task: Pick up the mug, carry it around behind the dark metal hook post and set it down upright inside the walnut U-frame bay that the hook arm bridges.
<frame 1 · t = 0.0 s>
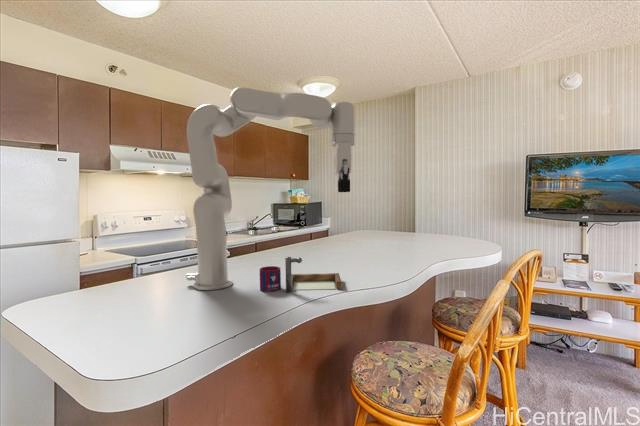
hand: (343, 192, 109), 31 cm above the worktop, fingers open, 9 cm apart
bay mat: (314, 285, 108), on the worktop
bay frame: (314, 285, 109), on the worktop
mug: (268, 288, 107), on the worktop
hook post: (288, 291, 102), on the worktop
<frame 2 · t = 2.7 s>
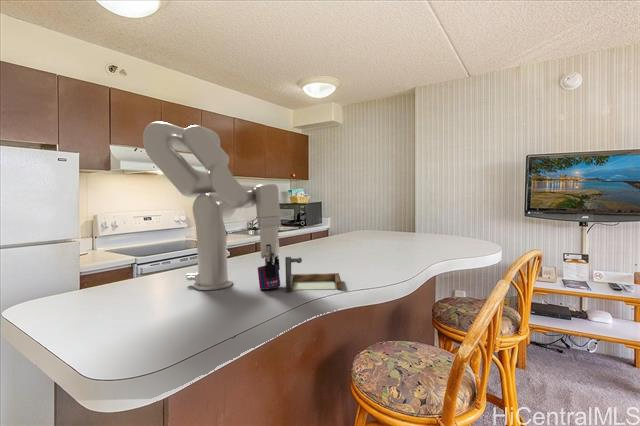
hand: (273, 273, 106), 5 cm above the worktop, fingers open, 9 cm apart
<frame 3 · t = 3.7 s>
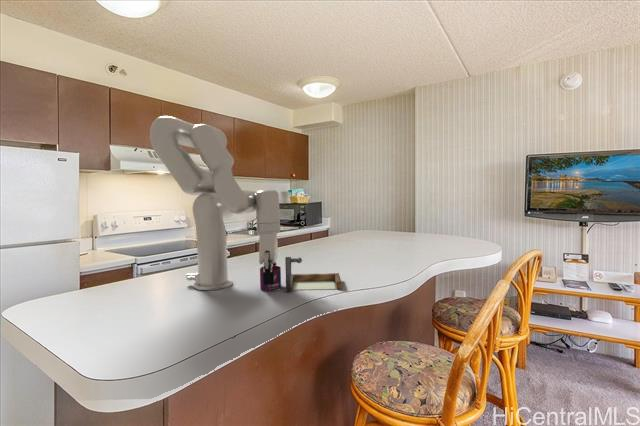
hand: (270, 280, 106), 2 cm above the worktop, fingers closed on mug, 8 cm apart
mug: (269, 287, 107), on the worktop, touching gripper
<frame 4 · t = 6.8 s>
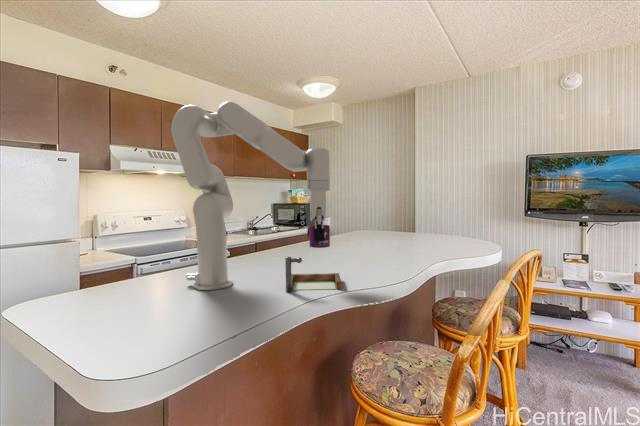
hand: (319, 238, 107), 16 cm above the worktop, fingers closed on mug, 8 cm apart
mug: (317, 246, 108), point 13 cm above the worktop, touching gripper
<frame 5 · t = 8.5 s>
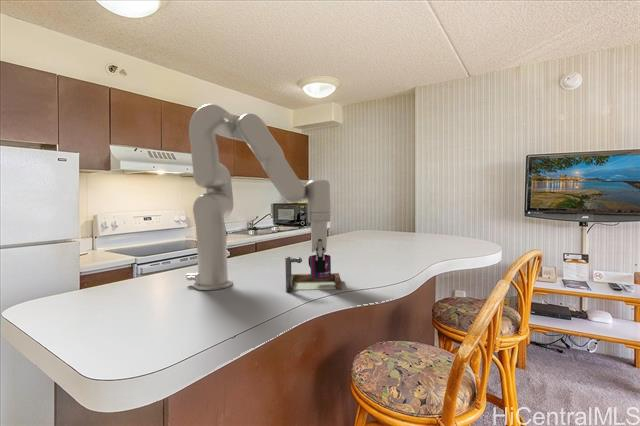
hand: (320, 269, 108), 6 cm above the worktop, fingers closed on mug, 8 cm apart
mug: (318, 276, 109), point 3 cm above the worktop, touching gripper
when the fingers open (3 cm above the worktop, at t = 10.0 s): mug stays where it is, resting on bay mat.
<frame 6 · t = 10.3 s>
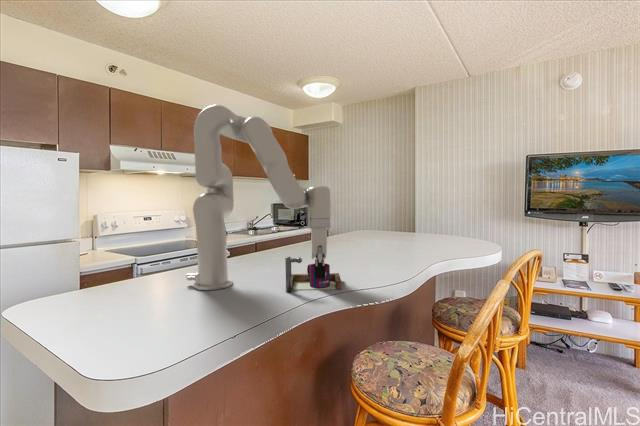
hand: (320, 274, 108), 4 cm above the worktop, fingers open, 9 cm apart
mug: (317, 284, 109), resting on bay mat
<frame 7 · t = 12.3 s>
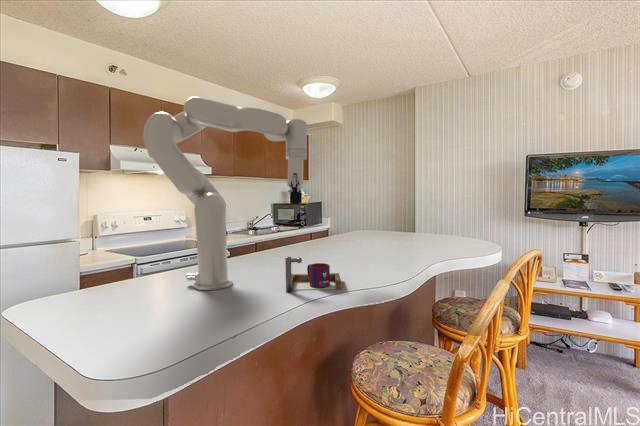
hand: (296, 203, 116), 27 cm above the worktop, fingers open, 9 cm apart
nothing on the worktop moved.
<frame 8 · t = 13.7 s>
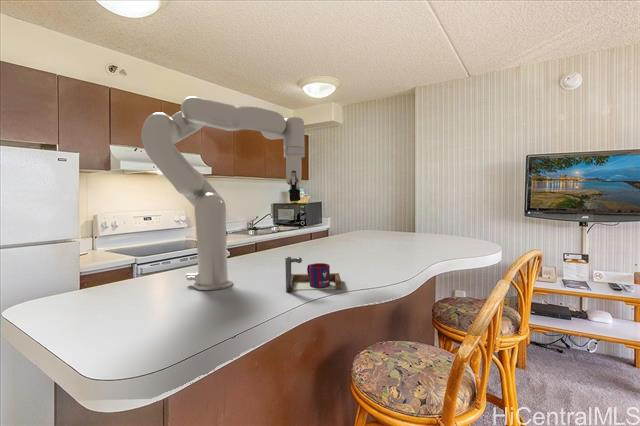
hand: (295, 200, 117), 28 cm above the worktop, fingers open, 9 cm apart
nothing on the worktop moved.
at the end: mug inside the target area (1.5 cm from its centre), resting on bay mat; mug tilted 0°; the gripper is holding nothing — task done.
